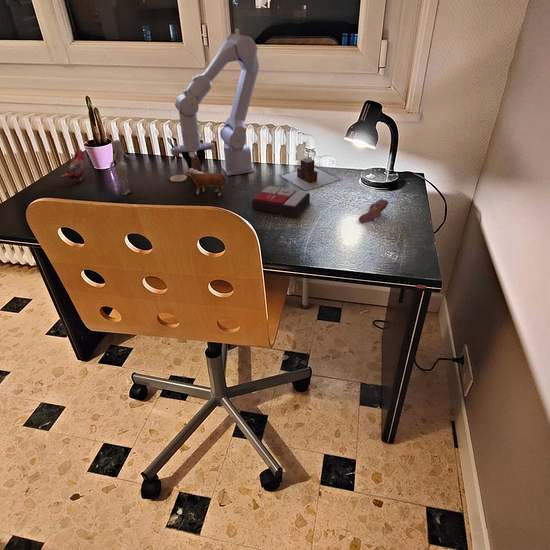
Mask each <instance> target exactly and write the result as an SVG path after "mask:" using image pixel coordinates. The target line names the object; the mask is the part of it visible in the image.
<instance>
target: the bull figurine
mask: <svg viewBox="0 0 550 550" xmlns="http://www.w3.org/2000/svg"><path fill="white" fill-rule="evenodd" d="M186 176H187V177H190V178H191V179H192V181H193V183H194V184H195V185H196V193H195V195H199V194H200V191H201V192H202V193H204V192H205V191H206V189H205V187H209V188H210V189H212V188H213V186H215V187H216V189H215V190H214V191H213V192H214V193H218V194H217V197H221V195H222V191H223V188H224V183H225V181H226V179H225V176H224V175H223V174H222V173H217V172H216V173H214V172H211V173H210V172H204V171H202V172H200V171H198V169H195V170H194V169H193V168H190V169H189V168H188V170H187V171H186ZM201 188H202V190H201Z"/></svg>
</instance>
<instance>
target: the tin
mask: <svg viewBox="0 0 550 550" xmlns="http://www.w3.org/2000/svg"><path fill="white" fill-rule="evenodd" d="M188 153H189V155H190V160H191V167H192V168H193V169H194V170H195V169H198V171H200V172H203V168H201V164H200V161H199V159H198V157H197V154H196V152H188Z"/></svg>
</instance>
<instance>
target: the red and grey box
mask: <svg viewBox="0 0 550 550" xmlns="http://www.w3.org/2000/svg"><path fill="white" fill-rule="evenodd" d="M310 197H311V194H310V192H308V191H301V190H296V189H292V188H285V187H278V186H272V185H271V186H270V185H267V186H266V187H265V188H264V189H263V190H262V191H261V192H259V193H258V194H257V195H256V196H254V198H253V199H251V206H252V209H253V210H257V211H263V212H267V213H273V214H280V215H282V216H284V217H287V218H293V219H296V218H298V217H299V216H300V215H301V214H302V213H303V212H304V211H305V209H307V207H308V206H309V205H310V204H311V198H310Z"/></svg>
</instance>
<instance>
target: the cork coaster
mask: <svg viewBox="0 0 550 550" xmlns="http://www.w3.org/2000/svg"><path fill="white" fill-rule="evenodd" d="M187 180H188V175H185V174H175V175H172V176H171V177H170V178H169V181H170V182H171V183H183V182H185V181H187Z"/></svg>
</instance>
